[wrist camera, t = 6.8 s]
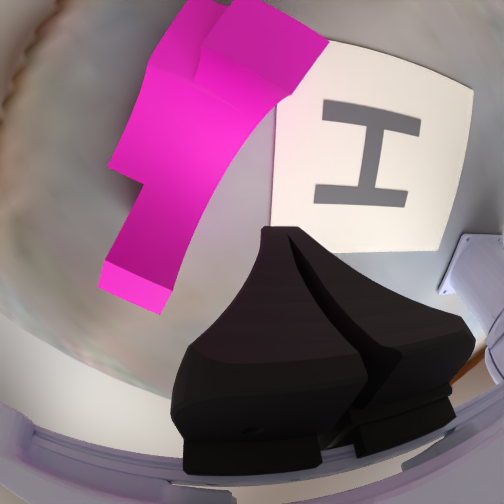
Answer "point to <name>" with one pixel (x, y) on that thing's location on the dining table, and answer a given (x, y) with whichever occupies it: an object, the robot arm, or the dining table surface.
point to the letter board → (369, 152)
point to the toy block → (196, 129)
